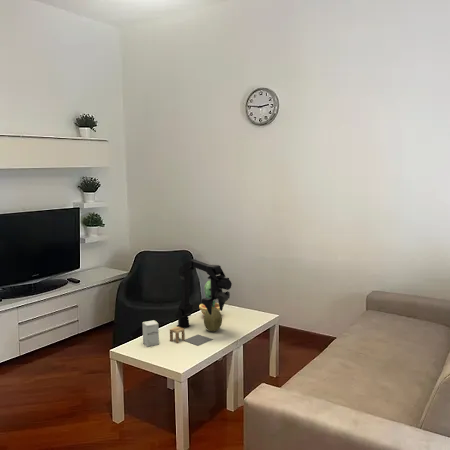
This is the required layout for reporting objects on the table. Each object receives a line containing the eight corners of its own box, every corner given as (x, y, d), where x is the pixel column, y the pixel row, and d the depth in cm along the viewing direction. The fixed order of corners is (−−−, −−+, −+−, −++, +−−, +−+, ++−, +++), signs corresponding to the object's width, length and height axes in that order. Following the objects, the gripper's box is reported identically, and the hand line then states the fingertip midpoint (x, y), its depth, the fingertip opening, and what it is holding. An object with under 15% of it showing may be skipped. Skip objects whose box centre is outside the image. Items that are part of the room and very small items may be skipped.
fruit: (225, 331, 290) (225, 307, 288) (211, 335, 283) (211, 311, 281) (214, 326, 299) (213, 303, 297) (200, 330, 291) (199, 307, 290)
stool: (170, 340, 275) (169, 329, 274) (177, 337, 280) (177, 326, 279) (177, 343, 271) (176, 331, 270) (184, 340, 276) (184, 328, 275)
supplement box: (146, 347, 266) (146, 325, 265) (142, 342, 273) (142, 321, 271) (159, 344, 270) (158, 323, 268) (155, 340, 276) (154, 319, 275)
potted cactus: (224, 319, 311) (224, 282, 308) (201, 322, 307) (201, 284, 304) (219, 312, 326) (218, 277, 323) (197, 314, 322) (196, 278, 319)
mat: (183, 340, 275) (183, 340, 275) (198, 335, 284) (198, 334, 284) (198, 345, 267) (198, 345, 267) (212, 339, 276) (212, 339, 276)
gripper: (214, 292, 265) (215, 319, 267) (236, 285, 278) (236, 311, 280) (200, 289, 272) (201, 315, 274) (222, 282, 286) (222, 308, 288)
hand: (215, 312), depth 279 cm, fingers open, 9 cm apart
